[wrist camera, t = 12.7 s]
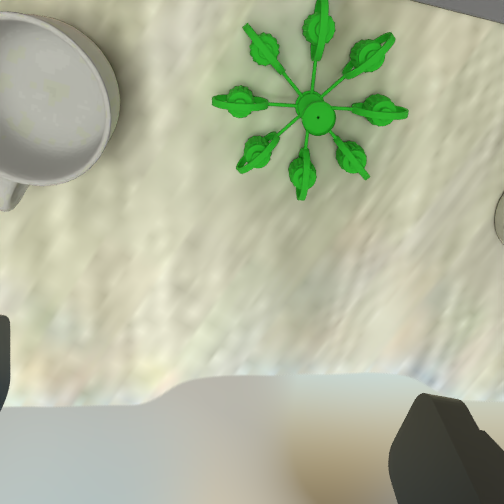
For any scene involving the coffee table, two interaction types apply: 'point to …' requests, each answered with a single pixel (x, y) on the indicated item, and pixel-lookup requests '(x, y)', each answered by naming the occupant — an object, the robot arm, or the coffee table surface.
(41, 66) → the teacup
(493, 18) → the mat
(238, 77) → the coffee table surface
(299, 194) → the chandelier
